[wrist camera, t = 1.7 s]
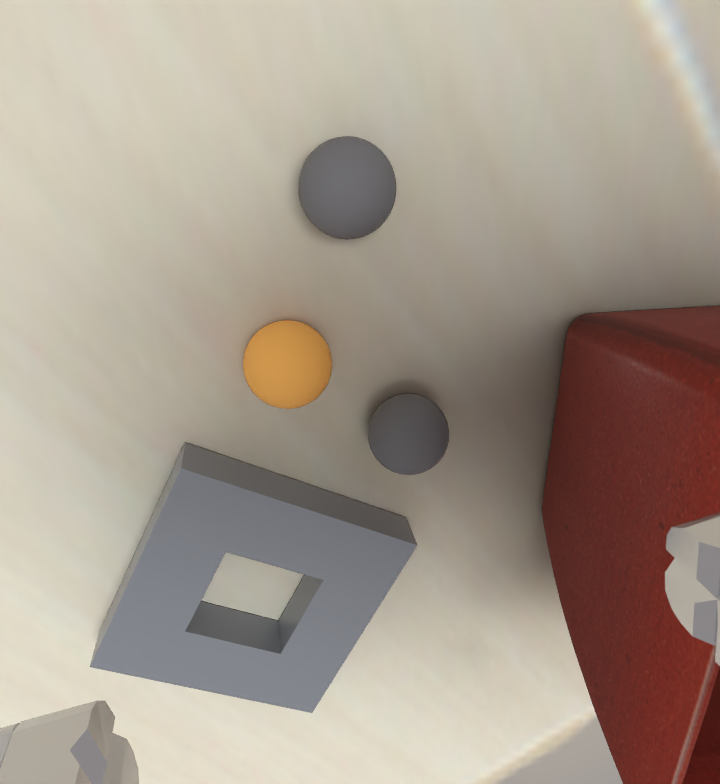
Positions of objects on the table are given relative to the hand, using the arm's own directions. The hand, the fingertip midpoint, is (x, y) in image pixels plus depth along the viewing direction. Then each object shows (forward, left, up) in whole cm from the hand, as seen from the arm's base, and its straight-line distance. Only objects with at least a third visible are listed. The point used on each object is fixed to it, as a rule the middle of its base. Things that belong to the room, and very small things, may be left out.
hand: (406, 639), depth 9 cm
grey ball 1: (0, -4, -20) cm, 21 cm away
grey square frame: (-5, +17, -22) cm, 28 cm away
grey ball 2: (-8, +5, -20) cm, 22 cm away
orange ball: (-1, +4, -20) cm, 20 cm away
